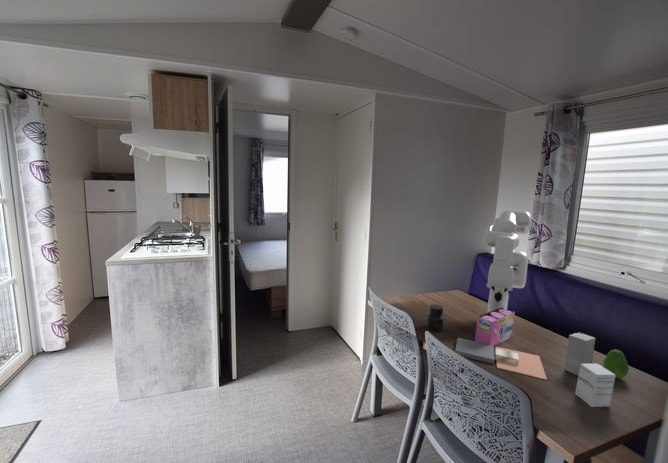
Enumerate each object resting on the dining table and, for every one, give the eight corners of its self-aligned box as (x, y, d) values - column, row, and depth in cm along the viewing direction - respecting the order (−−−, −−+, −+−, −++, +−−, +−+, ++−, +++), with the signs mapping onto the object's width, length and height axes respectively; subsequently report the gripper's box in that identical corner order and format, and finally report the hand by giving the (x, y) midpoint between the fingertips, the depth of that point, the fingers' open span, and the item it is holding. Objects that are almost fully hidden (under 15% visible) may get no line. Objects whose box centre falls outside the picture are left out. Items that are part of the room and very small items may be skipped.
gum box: (498, 330, 175) (501, 306, 173) (514, 336, 168) (517, 311, 166) (474, 342, 161) (477, 315, 159) (489, 349, 154) (492, 321, 152)
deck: (457, 341, 160) (457, 337, 160) (493, 349, 154) (493, 345, 154) (454, 354, 148) (455, 350, 148) (494, 363, 141) (494, 359, 141)
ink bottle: (442, 325, 178) (444, 304, 176) (445, 332, 170) (448, 310, 168) (423, 323, 179) (425, 303, 177) (426, 331, 170) (428, 309, 169)
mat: (495, 347, 156) (495, 346, 156) (539, 356, 149) (539, 355, 149) (496, 368, 138) (497, 367, 138) (546, 380, 131) (546, 379, 131)
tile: (495, 359, 144) (495, 354, 144) (494, 353, 150) (495, 348, 149) (518, 365, 141) (519, 359, 140) (517, 358, 146) (517, 353, 146)
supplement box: (574, 394, 123) (579, 363, 121) (592, 393, 123) (598, 362, 122) (591, 407, 116) (597, 374, 114) (610, 407, 116) (616, 374, 114)
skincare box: (581, 378, 133) (587, 341, 131) (562, 369, 140) (567, 334, 137) (591, 373, 137) (598, 338, 135) (573, 364, 143) (578, 330, 141)
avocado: (596, 371, 139) (601, 345, 137) (614, 371, 139) (619, 345, 137) (613, 383, 131) (618, 355, 129) (632, 383, 131) (637, 355, 129)
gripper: (520, 262, 149) (514, 300, 152) (484, 258, 154) (479, 295, 158) (522, 267, 142) (516, 306, 145) (484, 262, 147) (480, 300, 151)
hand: (497, 300), depth 152 cm, fingers closed
